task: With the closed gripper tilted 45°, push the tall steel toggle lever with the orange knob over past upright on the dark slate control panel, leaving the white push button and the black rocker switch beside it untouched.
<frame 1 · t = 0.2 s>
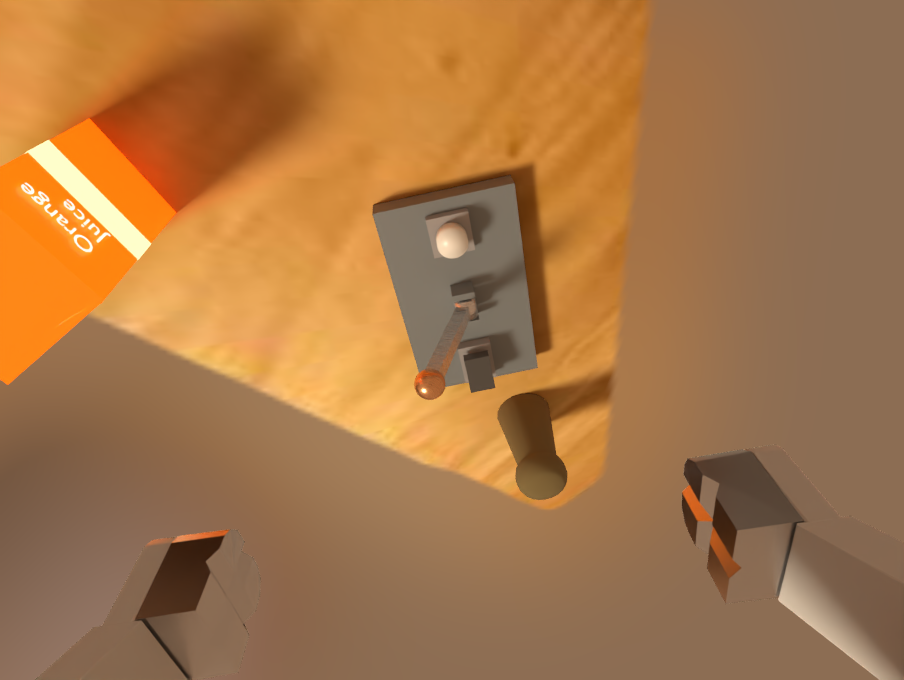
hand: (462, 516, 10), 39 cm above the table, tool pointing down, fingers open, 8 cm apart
toggle lever: (449, 342, 46), point 8 cm above the table, hinge at -22.0°
control panel: (461, 288, 52), on the table
orange juice: (102, 190, 44), on the table
push button: (451, 240, 45), point 4 cm above the table, slide at 0.0 cm
rocker switch: (479, 371, 53), point 4 cm above the table, hinge at -10.0°
cork: (522, 411, 63), on the table
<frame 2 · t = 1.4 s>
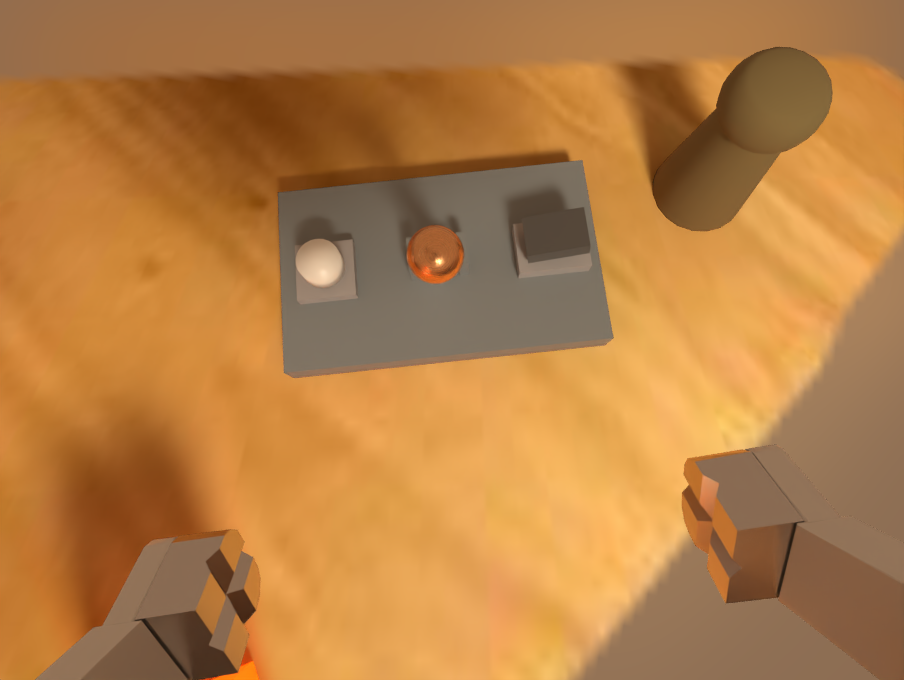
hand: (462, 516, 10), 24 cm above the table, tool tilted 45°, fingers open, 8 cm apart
toggle lever: (436, 254, 28), point 8 cm above the table, hinge at -22.0°
control panel: (440, 273, 36), on the table
push button: (320, 263, 32), point 4 cm above the table, slide at 0.0 cm
rocker switch: (555, 235, 32), point 4 cm above the table, hinge at -10.0°
cork: (696, 191, 37), on the table
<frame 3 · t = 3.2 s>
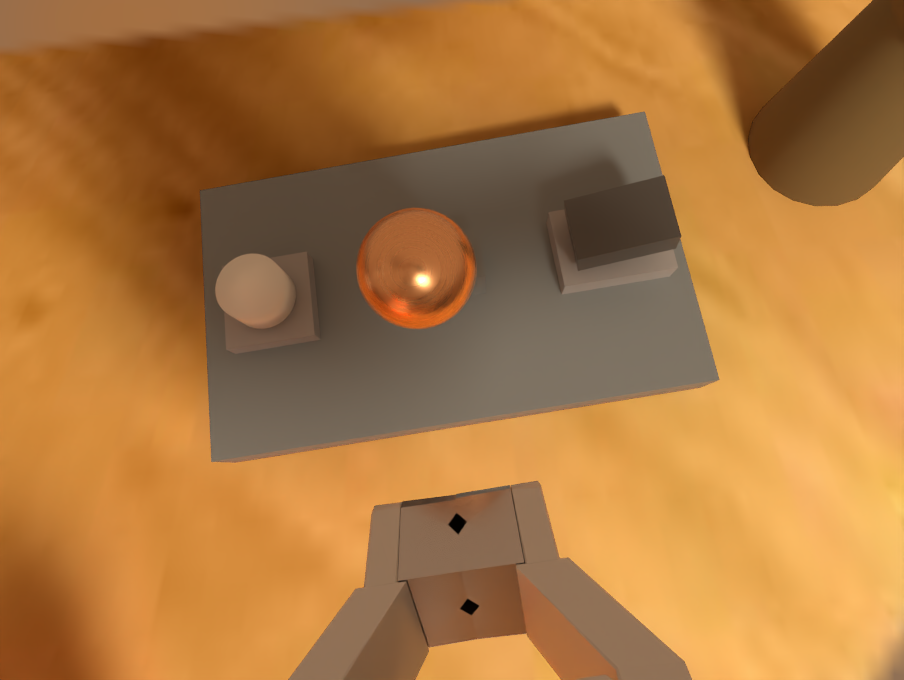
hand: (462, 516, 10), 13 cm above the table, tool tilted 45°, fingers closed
toggle lever: (429, 267, 16), point 8 cm above the table, hinge at -22.0°
control panel: (443, 293, 24), on the table
push button: (256, 291, 21), point 4 cm above the table, slide at 0.0 cm
rocker switch: (619, 224, 20), point 4 cm above the table, hinge at -10.0°
cork: (814, 148, 25), on the table
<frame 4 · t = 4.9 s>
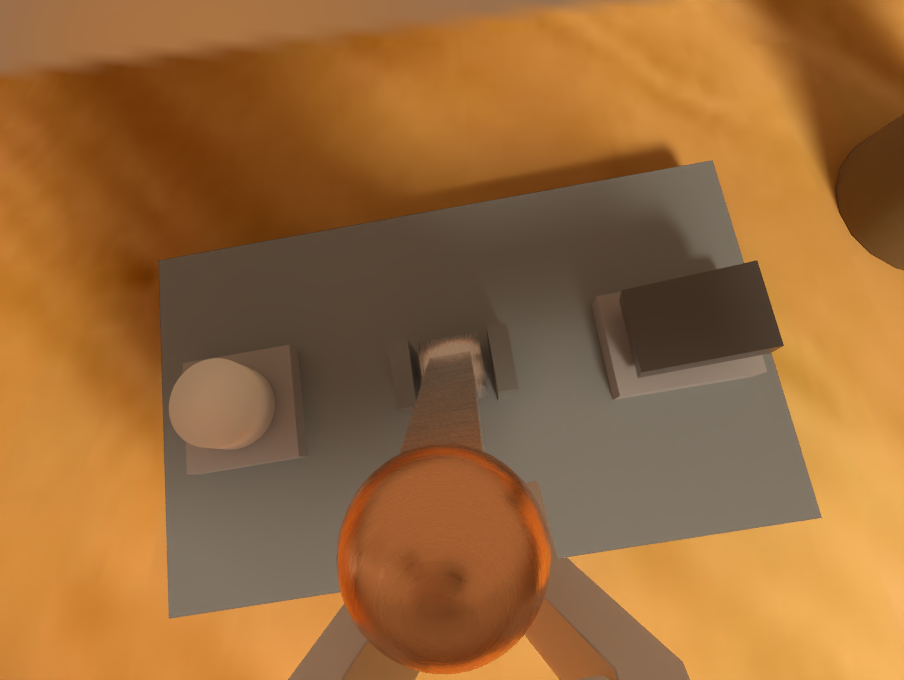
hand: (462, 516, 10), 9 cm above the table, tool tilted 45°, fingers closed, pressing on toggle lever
toggle lever: (451, 419, 11), point 8 cm above the table, hinge at -21.7°, touching gripper
control panel: (460, 384, 20), on the table
push button: (223, 404, 16), point 4 cm above the table, slide at 0.0 cm
rocker switch: (694, 321, 15), point 4 cm above the table, hinge at -10.0°
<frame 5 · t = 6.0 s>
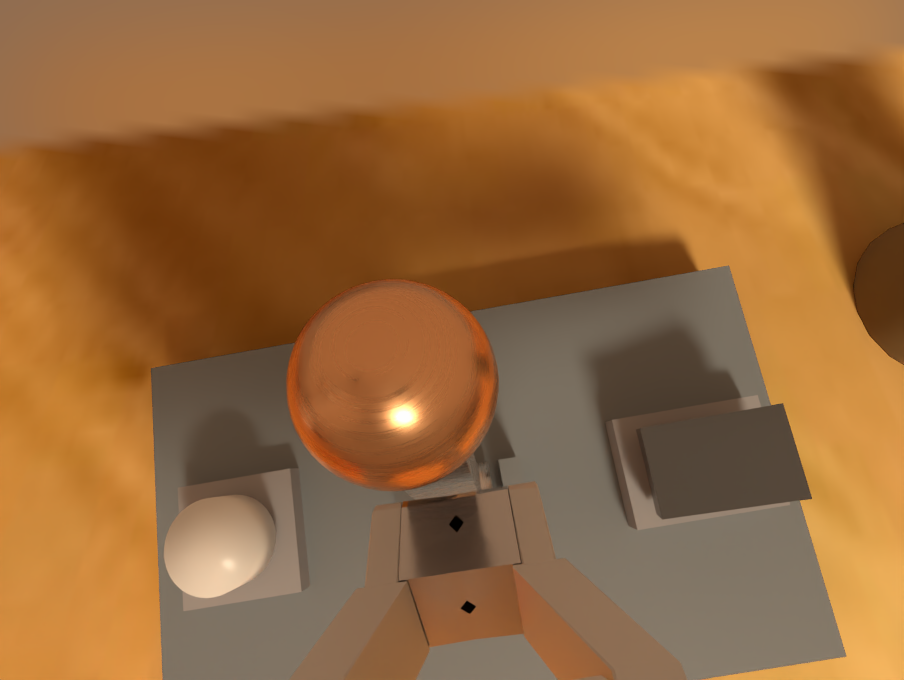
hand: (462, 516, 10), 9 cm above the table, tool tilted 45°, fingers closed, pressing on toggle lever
toggle lever: (443, 467, 11), point 9 cm above the table, hinge at 11.2°, touching gripper
control panel: (467, 494, 19), on the table
push button: (222, 543, 16), point 4 cm above the table, slide at 0.0 cm
rocker switch: (716, 461, 15), point 4 cm above the table, hinge at -10.0°
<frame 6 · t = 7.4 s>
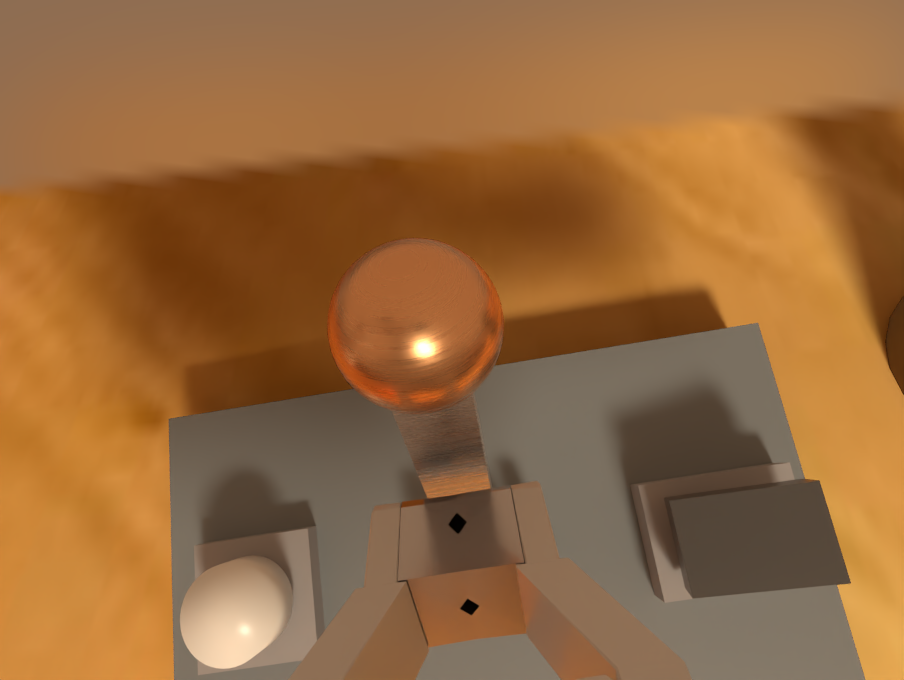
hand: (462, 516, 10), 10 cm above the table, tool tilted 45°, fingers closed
toggle lever: (462, 487, 11), point 8 cm above the table, hinge at 26.6°
control panel: (487, 552, 19), on the table
push button: (238, 608, 15), point 4 cm above the table, slide at 0.0 cm
rocker switch: (749, 536, 14), point 4 cm above the table, hinge at -10.0°
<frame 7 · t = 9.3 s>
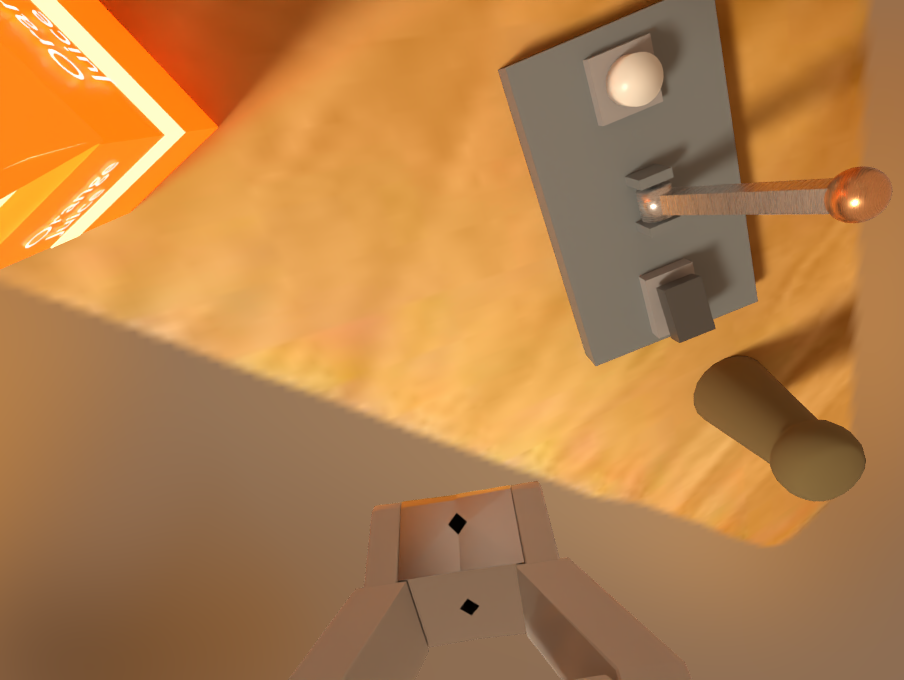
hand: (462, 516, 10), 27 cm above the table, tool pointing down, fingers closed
toggle lever: (742, 198, 28), point 8 cm above the table, hinge at 26.6°
control panel: (632, 193, 35), on the table
orange juice: (110, 107, 30), on the table
push button: (634, 80, 29), point 4 cm above the table, slide at 0.0 cm
rocker switch: (685, 308, 34), point 4 cm above the table, hinge at -10.0°
cork: (728, 389, 43), on the table
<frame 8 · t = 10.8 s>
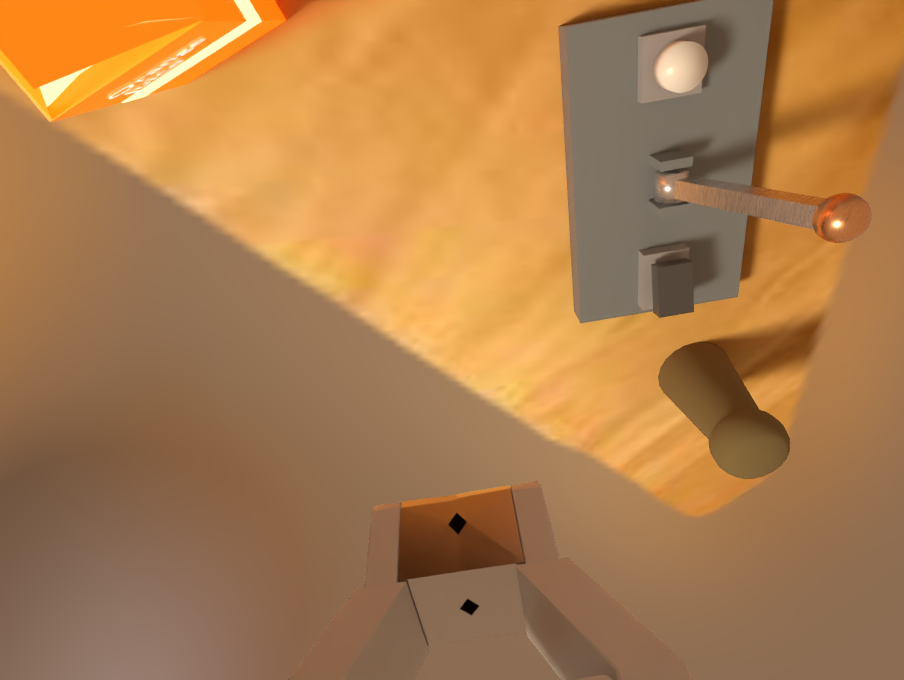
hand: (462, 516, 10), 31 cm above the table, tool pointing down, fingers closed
toggle lever: (746, 199, 31), point 8 cm above the table, hinge at 26.6°
control panel: (652, 172, 38), on the table
push button: (679, 66, 31), point 4 cm above the table, slide at 0.0 cm
rocker switch: (672, 287, 38), point 4 cm above the table, hinge at -10.0°
cork: (692, 370, 47), on the table
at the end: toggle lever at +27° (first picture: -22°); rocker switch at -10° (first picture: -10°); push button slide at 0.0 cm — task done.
